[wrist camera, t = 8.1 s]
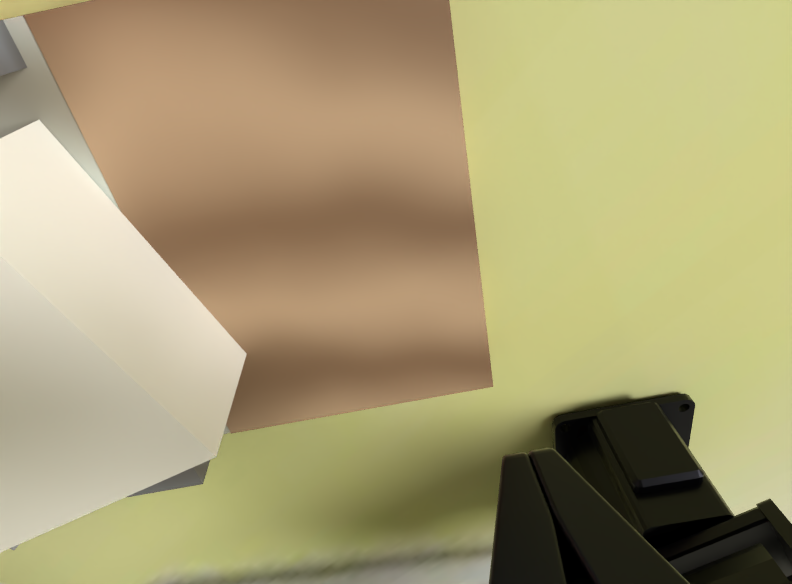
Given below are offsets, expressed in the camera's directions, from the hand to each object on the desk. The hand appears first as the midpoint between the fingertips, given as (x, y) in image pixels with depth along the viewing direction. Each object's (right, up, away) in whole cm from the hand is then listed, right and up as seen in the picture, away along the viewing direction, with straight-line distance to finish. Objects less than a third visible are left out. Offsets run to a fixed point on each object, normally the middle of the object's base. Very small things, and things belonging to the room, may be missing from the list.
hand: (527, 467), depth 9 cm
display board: (-10, +4, +11) cm, 16 cm away
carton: (-14, +2, +10) cm, 18 cm away
